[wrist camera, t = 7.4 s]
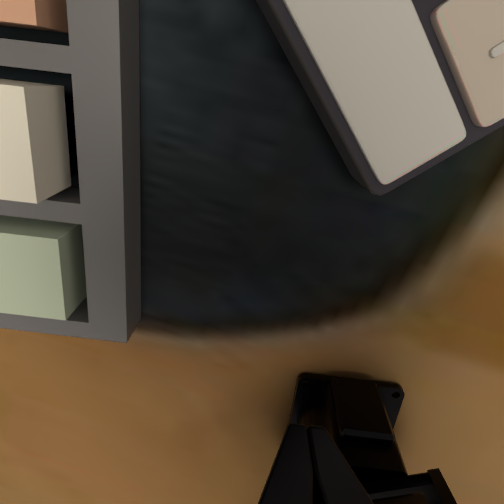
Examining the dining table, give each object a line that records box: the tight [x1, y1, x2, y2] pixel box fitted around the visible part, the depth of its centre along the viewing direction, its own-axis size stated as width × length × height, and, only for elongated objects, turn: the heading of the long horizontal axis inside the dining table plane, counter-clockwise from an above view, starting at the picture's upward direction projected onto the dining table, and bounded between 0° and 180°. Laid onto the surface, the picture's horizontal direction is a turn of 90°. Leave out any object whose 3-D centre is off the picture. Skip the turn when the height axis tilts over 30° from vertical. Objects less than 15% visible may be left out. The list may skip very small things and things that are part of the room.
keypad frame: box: [0, 0, 141, 343], centre depth 18 cm, size 20×10×2 cm, turn 174°
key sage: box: [0, 215, 87, 320], centre depth 20 cm, size 4×4×3 cm
